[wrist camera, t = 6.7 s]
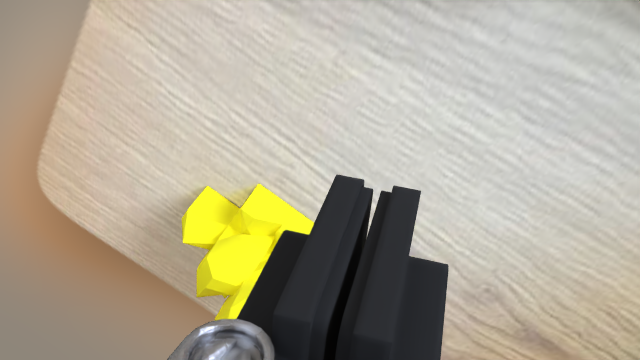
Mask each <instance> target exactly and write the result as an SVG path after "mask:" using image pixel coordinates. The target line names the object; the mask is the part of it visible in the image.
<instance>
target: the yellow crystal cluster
mask: <svg viewBox="0 0 640 360" xmlns="http://www.w3.org/2000/svg"><path fill="white" fill-rule="evenodd" d="M313 225H314V222H312V221H311V220H309V219H308V218H307V217H305V216H304V215H302V214H301V213H300V212H298V211H297V210H295V209H294V208H293V207H291V206H290V205H288V204H287V203H286V202H284V201H283V200H281V199H280V198H279V197H277V196H276V195H275V194H273V193H272V192H270V191H269V190H268V189H266V188H265V187H263V186H262V185H261V184H258V185H257V187H256V188H255V189H254V191H253V192H252V193H251V195H250V196H249V197H248V199H247V200H246V201H245V203H244V204H243V205H242V207H241V208H239V207H237V206H236V205H234V204H233V203H231V202H230V201H229V200H227V199H226V198H224V197H223V196H222V195H220V194H219V193H217V192H216V191H214V190H213V189H212V188H210V187H209V186H207V187H206V188H205V189H204V190H203V192H202V193H201V194H200V195H199V196H198V198H197V199H196V200H195V201H194V202H193V204H192V205H191V206H190V207H189V208H188V210H187V211H186V213H185V214H184V216H183V217H182V236H183V243H185V244H189V245H193V246H197V247H201V248H204V249H208V250H209V251H208V253H207V254H206V255H205V257H204V258H203V260H202V261H201V263H200V264H199V265H198V269H197V297H206V296H215V295H223V297H224V298H226V297H227V296H228V295H230V296H229V297H228V298H227V299H226V300H225V302H224V304H223V306H222V307H221V309H220V311H219V312H218V314H217V316H216V318H215V321H216V320H220V319H237V317H238V315H239V313H240V311H241V309H242V307H243V306H244V304H245V302H246V300H247V298H248V296H249V294H250V292H251V290H252V289H253V287H254V285H255V283H256V281H257V279H258V277H259V275H260V273H261V272H262V270H263V268H264V266H265V264H266V262H267V260H268V258H269V256H270V255H271V253H272V251H273V249H274V247H275V245H276V243H277V241H278V239H279V238H280V236H281V234H282V233H283V231H285V230H290V231H295V232H299V233H304V234H310V231H311V229H312V227H313Z"/></svg>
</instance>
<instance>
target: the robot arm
mask: <svg viewBox="0 0 640 360" xmlns="http://www.w3.org/2000/svg"><path fill="white" fill-rule="evenodd" d="M420 194H421V191H419V190H414V189H409V188H404V187H398V186H393V189H392V193H391V192H386V191H381V193H380V197H379V200H378V203H377V207H376V210H375V213H374V216H373V220H372V223H371V226H370V229H369V233H368V236H367V231H368V224H369V217H370V210H371V203H372V197H373V189H371V188H366V187H364V180H362V179H357V178H352V177H347V176H342V175H336V177H335V179H334V181H333V183H332V186H331V188H330V190H329V192H328V194H327V196H326V199H325V201H324V203H323V205H322V207H321V210H320V212H319V214H318V216H317V218H316V221H315V223H314V225H313V227H312V229H311V231H310V234H304V233H299V232H295V231H290V230H285V231H283V233H282V234H281V236H280V238H279V239H278V241H277V243H276V245H275V247H274V249H273V251H272V253H271V255H270V256H269V258H268V260H267V262H266V264H265V266H264V268H263V270H262V272H261V273H260V275H259V277H258V279H257V281H256V283H255V285H254V287H253V289H252V290H251V292H250V294H249V296H248V298H247V300H246V302H245V304H244V306H243V307H242V309H241V311H240V313H239V315H238V317H237V319H220V320H216V321H211V322H208V323H206V324H204V325H202V326H200V327H198V328H196V329H195V330H193V331H192V332H191V333H190V334H189V335H188V336H187V337H186V338H185V339H184V340H183V341H182V342H181V343H180V345H179V346H178V347H177V348H176V350H174V352H173V353H172V354H171V355H170V356H169V358H168V359H167V360H440V357H441V346H442V335H443V324H444V312H445V301H446V290H447V279H448V264H443V263H439V262H434V261H429V260H425V259H420V258H415V257H411V256H409V252H410V246H411V241H412V236H413V231H414V225H415V220H416V215H417V210H418V204H419V199H420ZM366 237H367V239H366Z"/></svg>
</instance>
